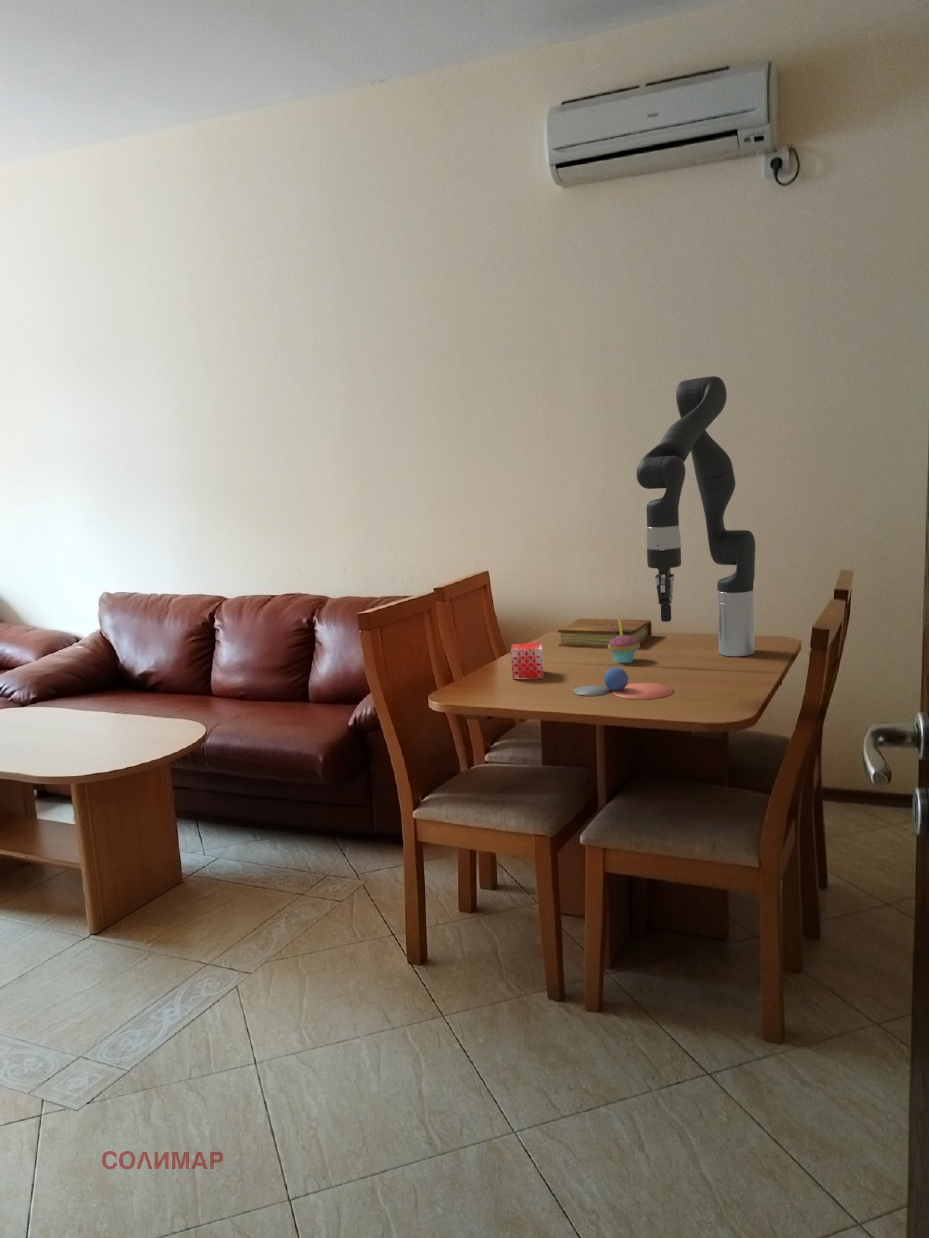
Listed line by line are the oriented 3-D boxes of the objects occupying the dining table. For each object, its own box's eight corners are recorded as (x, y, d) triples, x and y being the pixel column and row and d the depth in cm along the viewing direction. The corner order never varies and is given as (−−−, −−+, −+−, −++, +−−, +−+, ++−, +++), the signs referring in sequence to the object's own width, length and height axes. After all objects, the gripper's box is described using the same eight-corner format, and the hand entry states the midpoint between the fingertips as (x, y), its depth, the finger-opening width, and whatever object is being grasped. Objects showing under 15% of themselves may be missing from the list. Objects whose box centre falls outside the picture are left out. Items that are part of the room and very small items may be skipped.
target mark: (616, 683, 214) (616, 682, 214) (675, 684, 210) (675, 683, 210) (608, 699, 201) (608, 698, 201) (670, 699, 197) (670, 699, 196)
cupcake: (603, 660, 239) (601, 617, 237) (630, 656, 242) (629, 613, 240) (618, 666, 231) (616, 622, 229) (646, 662, 234) (644, 618, 232)
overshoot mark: (576, 686, 214) (576, 685, 214) (613, 686, 212) (613, 685, 212) (569, 695, 206) (569, 695, 206) (607, 696, 203) (607, 695, 203)
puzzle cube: (514, 673, 233) (512, 644, 232) (543, 671, 232) (542, 642, 231) (512, 680, 225) (510, 650, 224) (543, 679, 224) (541, 649, 223)
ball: (605, 670, 211) (624, 661, 208) (616, 690, 211) (635, 682, 208) (596, 676, 207) (615, 667, 203) (607, 697, 206) (626, 688, 203)
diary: (651, 638, 267) (651, 619, 266) (632, 651, 251) (631, 631, 250) (581, 635, 278) (580, 617, 277) (558, 647, 262) (557, 628, 261)
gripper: (649, 543, 205) (652, 616, 208) (643, 550, 192) (646, 627, 195) (682, 542, 203) (684, 615, 206) (678, 548, 190) (681, 626, 193)
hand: (666, 621), depth 201 cm, fingers closed
